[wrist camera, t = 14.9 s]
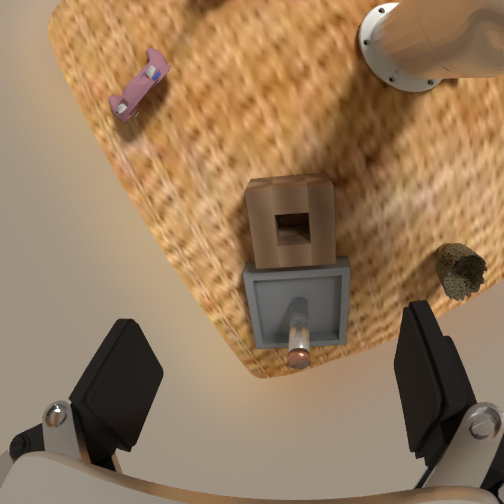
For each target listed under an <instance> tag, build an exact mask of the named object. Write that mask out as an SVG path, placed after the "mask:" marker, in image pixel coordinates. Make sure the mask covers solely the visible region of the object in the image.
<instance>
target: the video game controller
mask: <svg viewBox="0 0 504 504" xmlns="http://www.w3.org/2000/svg"><path fill="white" fill-rule="evenodd" d="M146 54H147V57H148V59H149V63H148V64H147V65H146V66H145V67H144V68H143V69H142V70H141V71H140V73H139V74H138V75H137V76H136V77H135V78H133V79H132V80H131V81H130V82H129V83H128V84H127V85H126V87H125V89H124V91H123V94H122V95H121V97H120V98H119V97H118V96H116V95H111V96H110V97H109V104H110V106H111V108H112V111H113V113H114V115H115V116H116V117H117V118H118V119H119V120H121V121H122V122H124V123H126V122H127V120H128V119H129V118H131V117H132V116H134V117H133V118H135V117H137V115H138V114H139V110H138V111H137V107H138V105H139V103H140V101H141V99H142V98H143V97H144V95H145V94H146V93H147V92H148V90H149V89H150V88H151V87H153V88H154V87H155V86H156V85H157V84H158V83H159V82H160V81H161V80H162V79H163V78H164V77H165V75H166V73H167V72H168V71H169V69H170V67H171V66H169V65H168V63H167V61H166V59H165V57H164V56H163V55H162V54H161V53H160V52H159V51H158V50H156V49H153V48H148V49H147V51H146ZM136 111H137V112H136Z"/></svg>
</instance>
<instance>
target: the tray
mask: <svg viewBox="0 0 504 504" xmlns="http://www.w3.org/2000/svg"><path fill="white" fill-rule="evenodd" d="M350 272H351V267H350V263H349V260H348V257H336V264H325V265H310V266H295V267H279V268H263V269H256V264H255V263H246V264H245V268H244V272H243V277H244V283H245V289H246V294H247V300H248V305H249V311H250V316H251V322H252V327H253V333H254V338H255V344H256V349H271V348H289V329H290V304H291V301H292V300H293V299H294V298H296V297H303V298H305V299H306V300H307V301H308V307H309V340H310V347H315V346H330V345H343V344H346V338H347V325H348V312H349V295H350Z"/></svg>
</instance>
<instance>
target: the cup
mask: <svg viewBox="0 0 504 504" xmlns="http://www.w3.org/2000/svg"><path fill="white" fill-rule="evenodd" d="M485 265H486V262H485V261H484V259H483V258H481V257H480V256H479V255H478V254H476V253H475V252H474V251H473V250H471V249H470V248H468V247H467V246H465V245H463V244H460V243H453V244H450V243H446V244H443V245H442V246H441V247H440V248H439V250H438V252H437V261H436V270H437V274H438V277H439V279H440V282H441V284H442V286H443V288H444V291H445V293H446V295H447V296H449V298H450V299H451V300H452V297H453V298H454V299H456V300H457V301H459V299H460V300H464V297H465V295H466V296H467V297H469V298H470V296H471V294H470V293H472V292H474V293H475V292H478V291H479V289H480V285H481V284H483V283H484V278H483V276H482V275H483V274H484V272H483V271H485V272H486V271H487V268H486V266H485Z"/></svg>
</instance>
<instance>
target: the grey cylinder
mask: <svg viewBox="0 0 504 504" xmlns="http://www.w3.org/2000/svg"><path fill="white" fill-rule="evenodd" d="M287 363H288V365H289V366H290V367H291V368H294V369H304V368H306V367H308V366H309V364H310V340H309V307H308V301H307V300H306V299H305V298H303V297H296V298H294V299H293V300H292V301H291V304H290V329H289V349H288V360H287Z"/></svg>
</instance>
